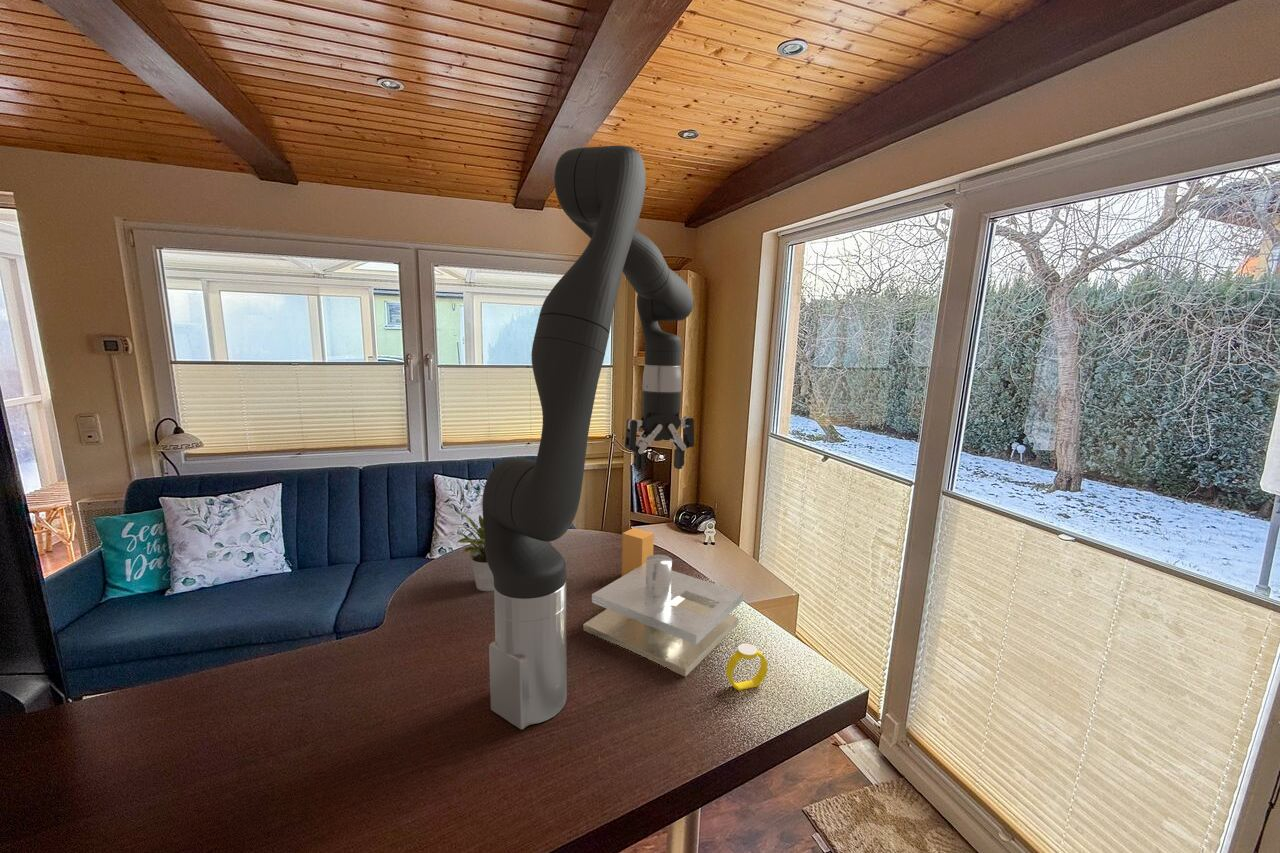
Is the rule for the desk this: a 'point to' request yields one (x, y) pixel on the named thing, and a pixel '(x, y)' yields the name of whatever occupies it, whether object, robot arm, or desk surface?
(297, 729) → the desk surface
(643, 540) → the orange rectangular prism
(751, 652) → the watch
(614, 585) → the two-tier square platform
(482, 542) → the house plant
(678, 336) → the robot arm
